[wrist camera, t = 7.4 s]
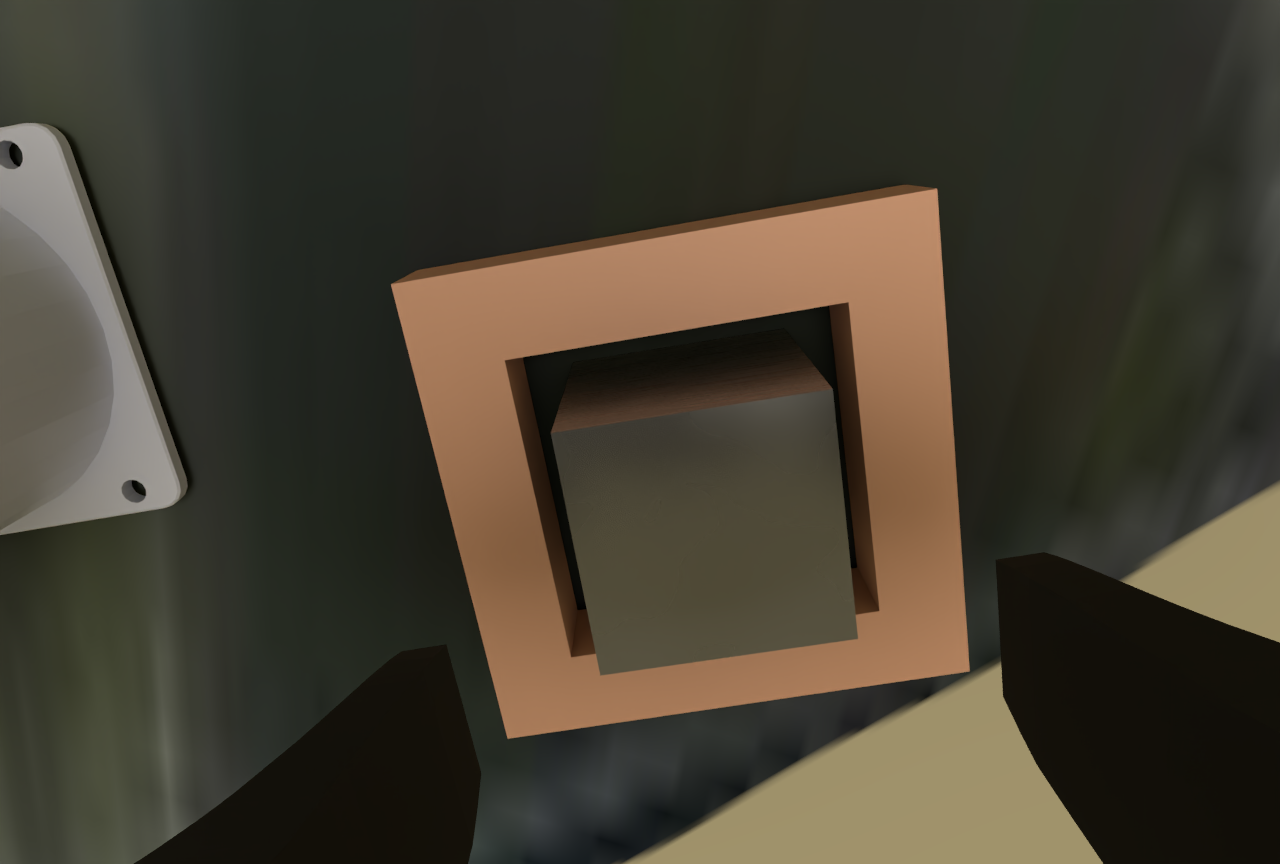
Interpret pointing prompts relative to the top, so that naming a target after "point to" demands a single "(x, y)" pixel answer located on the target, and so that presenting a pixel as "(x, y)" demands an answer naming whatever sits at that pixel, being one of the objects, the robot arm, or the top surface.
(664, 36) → the top surface
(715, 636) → the steel block
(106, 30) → the top surface
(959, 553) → the hole plate
